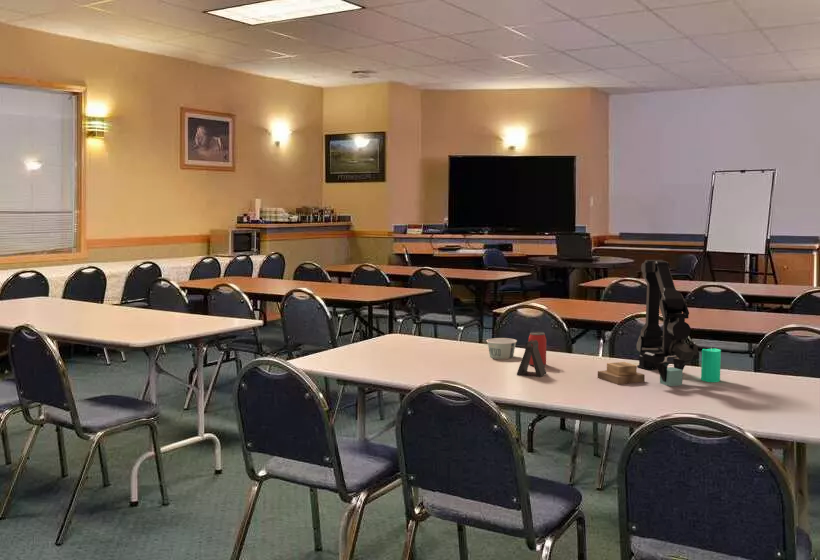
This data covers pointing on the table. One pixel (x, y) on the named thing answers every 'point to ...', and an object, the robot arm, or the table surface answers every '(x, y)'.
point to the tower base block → (621, 378)
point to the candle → (711, 365)
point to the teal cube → (673, 377)
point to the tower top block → (621, 368)
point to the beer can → (539, 345)
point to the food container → (501, 348)
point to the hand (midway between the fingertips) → (670, 380)
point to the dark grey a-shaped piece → (536, 359)
